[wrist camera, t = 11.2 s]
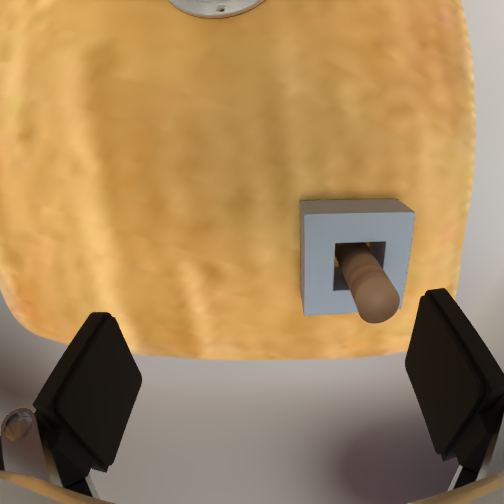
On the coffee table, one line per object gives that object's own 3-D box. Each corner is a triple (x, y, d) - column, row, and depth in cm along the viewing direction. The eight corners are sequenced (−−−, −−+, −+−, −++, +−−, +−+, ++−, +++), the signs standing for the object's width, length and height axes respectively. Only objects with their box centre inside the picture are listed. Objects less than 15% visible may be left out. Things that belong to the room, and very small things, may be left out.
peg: (333, 232, 34) (360, 287, 23) (364, 231, 34) (403, 284, 23) (332, 261, 35) (356, 325, 24) (362, 260, 35) (395, 321, 24)
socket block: (299, 200, 33) (304, 214, 28) (396, 199, 32) (415, 212, 27) (300, 291, 37) (304, 315, 33) (387, 286, 36) (401, 308, 32)
